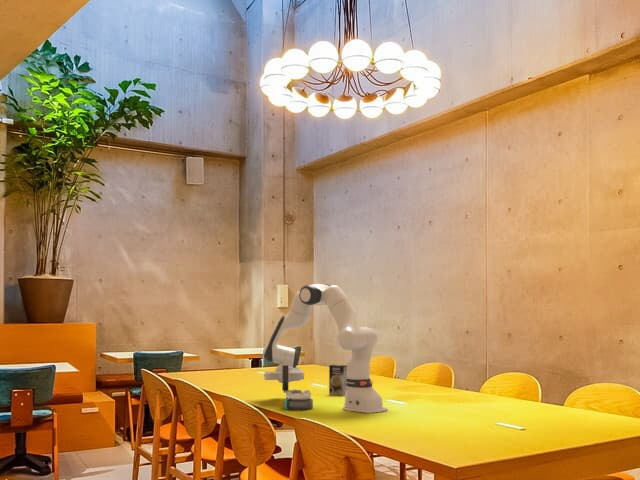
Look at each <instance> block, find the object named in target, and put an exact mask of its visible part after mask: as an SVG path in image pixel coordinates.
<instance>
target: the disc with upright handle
mask: <svg viewBox="0 0 640 480" xmlns="http://www.w3.org/2000/svg"><path fill="white" fill-rule="evenodd" d="M289 383H290V382H289V365H283V366H282V383H281V384H282V385H281V386H282V392H283V393H284V394H285V399H289V401H308V400H311V399H312V395H311V391H310V390H309V389H306V390H304V391H302V389H293V390H292V389H289Z"/></svg>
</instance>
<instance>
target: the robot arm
mask: <svg viewBox="0 0 640 480" xmlns="http://www.w3.org/2000/svg"><path fill="white" fill-rule="evenodd" d="M325 305H326V306H327V309H328V310H329V312H330V314H331V315H332V317H333V319H334V321H335V323H336V325H337V328H338V336H337V342H338V345H339V347H340V348H341V349H342V350H343V349H344V350H347V351H351V353H350V357H349V359H348V360H347V362H346V365H347V378H346V386H347V389H346V393H345V395H344V405H343V406H342V410H344V411H351V412H357V413H364V414H373V413H381V412H386V411H389V410H388V408H387V407H385V406H383V399H382V396H381V395H380V394H379V393H378V392H377V391H376V389H375V388H374V387H373V384H374V380H371V377H370V375H371V374H370V373H371V372H370V371H371V370H370V367H371V366H370V363H371V357H372V353H373V349H374V347H375V345H376V344H377V342H378V334H377V331H376V330H375V329H373V328H371V327H367V326H359V325H358V323H357V319H356V317H357V312H356V309H355V308H354V306H353V304H352V303H351V301H350V300H349V298H348V296H347V295H346V293H345V291H343V290H342V288H341V287H340V286H339V285H337V284H336V285H335V284H334V285H333V284H332V285H330V284H327V283H324V284H322V283H312V284H309V283H308V284H305V285H303V286H302V287H301V288H300V290H299V291H297V292H296V293H295V295H294V296H293V299H292V302H291V304H290V309H289V310H288V312H287V314H286V315H283V316H281V317H280V319H279V320H278V323H277V325H276V326H275V328H274V330H273V332H272V334H271V337H270V339H269V341H268V343H267V344H266V345H265V348H264V349H263V353H262V354H263V358H264V359H265V361H266V363H267V362H268V363H275V364H278V365H277V367H276V368H275V371H273V370H272V371H266V372H264V374H263V377H264V380H265V381H278V382H279V383H281V384H282V366H283V365H289V383H290V382H299V381H302V380H304V379H305V372H304V371H303V370H302V369H301V368H300V367H297V365H298V362H299V352H298V351H297V349H296V348H292V347H288V346H285V345H280V344H278V341H279V340H280V337H281V335H282V333H283V332H284V331H287V330H290V329H298V328H302V327H303V326H305V325H307V324H308V322H309V319H310V317H311V313H312V308H313V307H314V306H325Z"/></svg>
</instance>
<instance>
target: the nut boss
mask: <svg viewBox="0 0 640 480" xmlns="http://www.w3.org/2000/svg"><path fill="white" fill-rule="evenodd" d="M313 403H314V399H313V398H311V400H308V401H289V399H286V398H284V399H283V409H284V410H285V411H295V410H300V411H310V410H313V407H314V404H313Z"/></svg>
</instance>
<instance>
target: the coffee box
mask: <svg viewBox="0 0 640 480" xmlns="http://www.w3.org/2000/svg"><path fill="white" fill-rule="evenodd" d="M328 370H329V371H328V373H329V376H328V377H329V378H328V381H329V382H328V384H329V385H328V387H329V389H328V390H329V391H328V395H330V396H331V395H332V396H344V397H345V393H346V389H347V386H346V378H347V364H346V365H345V364H343V365H342V364H329V369H328Z"/></svg>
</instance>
